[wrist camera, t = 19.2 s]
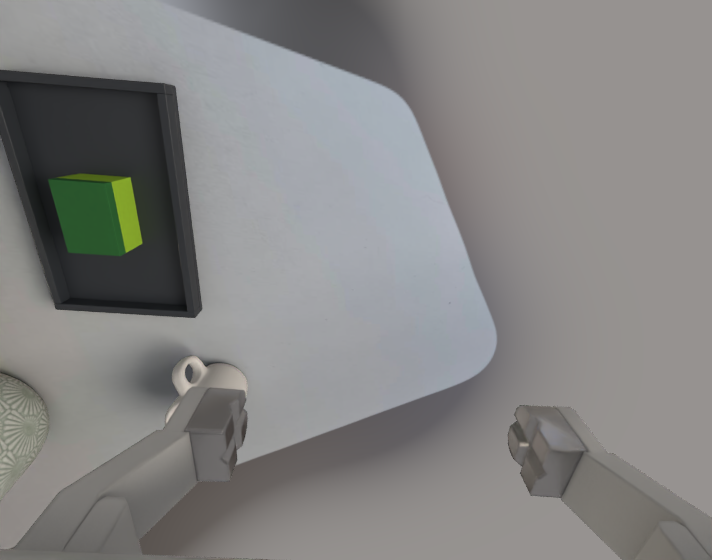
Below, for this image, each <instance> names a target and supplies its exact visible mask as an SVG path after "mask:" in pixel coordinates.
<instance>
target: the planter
mask: <svg viewBox="0 0 712 560" xmlns="http://www.w3.org/2000/svg"><path fill="white" fill-rule="evenodd" d="M48 431H49V415H48V410H47V407H46V405H45V403H44V402H43V400H42V399H41V398H40V396H39V395H38V394H37V393H36V392H35V391H34V390H33V389H32V388H30V387H29V386H28V385H26V384H25V383H23V382H21V381H19V380H17V379H15V378H13V377H11V376H8V375H5V374H2V373H0V500H1V499H2V498H3V497H4V496H5V494H6V493H7V492H8V491H9V490H10V488H11V487H12V486H13V485H14V484H15V483H16V481H17V480H18V479H19V478H20V477H21V475H22V474H23V473H24V472H25V471H26V469H27V468H28V467H29V466H30V465H31V463H32V462H33V461H34V460H35V458H36V457H37V455H38V454H39V452H40V450H41V448H42V447H43V445H44V443H45V440H46V438H47V435H48Z"/></svg>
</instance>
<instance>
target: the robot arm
mask: <svg viewBox="0 0 712 560" xmlns="http://www.w3.org/2000/svg"><path fill="white" fill-rule="evenodd" d="M245 402H246V393H245V391H244V390H237V389H225V388H212V387H210V388H207V387H195V386H192V387H191V388H190V389H188V390H187V392H186V394H185V395H184V397H183V398H182V400H181V401H180V403H179V405H178V406H177V408H176V409H175V411H174V413H173V414H172V416H171V417H170V419H169V421H168V422H167V424H166V425H165V427H164V428H163V430H156V431H155V432H153V433H152V434H150V435H148V436H147V437H145V438H144V439H142V440H141V441H139V442H137V443H136V444H134V445H133V446H131V447H130V448H128V449H126V450H125V451H123V452H122V453H120V454H119V455H117V456H115V457H114V458H112V459H111V460H109V461H107V462H106V463H104V464H103V465H101V466H100V467H98V468H96V469H95V470H93V471H92V472H90V473H89V474H87V475H85V476H84V477H82V478H81V479H79V480H77V481H76V482H74V483H73V484H71V485H70V486H68V487H66V488H65V489H63V490H62V491H60V492H59V493H58V494H57V495H56V497H55V498H54V499H53V500H52V502H51V503H50V504H49V505H48V506H47V508H46V509H45V510H44V511H43V513H42V514H41V515H40V516H39V518H38V519H37V520H36V521H35V523H34V524H33V525H32V526H31V528H30V529H29V530H28V531H27V533H26V534H25V535H24V536H23V538H22V539H21V540H20V541H19V542H18V544H17V545H16V546H15V547H14V549H13V550H12V549H0V560H265V559H241V558H240V559H239V558H216V557H189V556H164V555H143V554H142V550H141V547H140V543H139V540H140V539H141V538H142V537H143V536H144V535H145V534H146V533H147V532H148V531H149V530H150V529H151V528H152V527H153V526H154V525H155V524H156V523H157V522H158V521H159V520H160V519H161V518H162V517H163V516H164V515H165V514H166V513H167V512H168V511H169V510H170V509H171V508H173V506H175V505H176V504H177V503H178V502H179V501H180V500H181V499H182V498H183V497H184V496H185V494H187V493H188V492H189V491H190V490H191V489H192V488H193V487H194V486H195V485H196V484H197V481H218V482H219V481H220V482H229V481H230V479H231V476H232V473H233V470H234V467H235V464H236V462H237V452H236V450H238V449H239V448H240V447H241V446H242V444H243V441H244V438H245V434H246V429H247V411H246V410H245V409H244V405H245ZM514 415H515V417H516V419H517V421H516V422H515V423H513V424H512V425H511V426H510V429H509V432H508V446H509V449H510V453H511V455H512V457H513V459H514V460H515V461H516V462H517V463H518V464H520V465H521V466H522V469H521V472H520V474H521V476H522V478H523V480H524V482H525V484H526V487H527V488H528V491H529V493H530V495H531V496H543V497H556V498H561V500H562V501H563V502H564V503H565V504H566V505H567V506H568V507H569V508H570V509H571V510H572V511H573V512H574V513H575V514H576V515H577V516H578V517H579V518H580V519H581V520H582V521H583V522H584V523H585V524H586V525H587V526H588V527H589V528H590V529H591V530H592V531H593V532H594V533H595V534H596V535H597V536H598V537H599V538H600V539H601V540H602V541H604V543H606V545H607V546H608V547H610V548H611V549H612V550H613V551H614V552H615V553H616V554H617V555H618V556H619V557H620V558H621V559H622V560H712V518H711V517H710V516H708V515H707V514H705V513H704V512H702V511H701V510H699V509H698V508H696V507H694V506H693V505H691V504H690V503H688V502H687V501H685V500H684V499H682V498H680V497H679V496H677V495H676V494H674V493H673V492H672V491H670V490H669V489H667V488H665V487H663V486H662V485H661V484H659V483H658V482H656V481H654V480H653V479H652V478H650V477H649V476H647V475H646V474H644V473H643V472H641V471H639V470H638V469H636V468H635V467H633V466H632V465H630V464H629V463H627V462H626V461H624V460H623V459H621V458H619V457H618V456H617V455H615V454H613V453H608V452H607V451H606V450H605V449H604V447H603V446H602V445H601V443H600V442H599V441H598V440H597V438H596V437H595V436H594V434H593V433H592V432H591V430H590V429H589V428H588V427H587V425H586V424H585V423H584V421H583V420H582V419H581V418H580V416H579V415H578V414H577V412H576V411H575V410H574V409H572V408H570V407H554V406H553V407H550V406H529V405H520V406H519V407H517V409H516V411H515V414H514ZM266 560H267V559H266Z"/></svg>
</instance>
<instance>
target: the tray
mask: <svg viewBox="0 0 712 560" xmlns="http://www.w3.org/2000/svg"><path fill="white" fill-rule="evenodd" d="M0 135H1V138H2V141H3V144H4V147H5V151H6V154H7V157H8V160H9V163H10V166H11V170H12V173H13V176H14V179H15V182H16V185H17V189H18V192H19V195H20V198H21V201H22V204H23V208H24V211H25V214H26V217H27V220H28V223H29V226H30V230H31V233H32V236H33V239H34V242H35V245H36V249H37V252H38V255H39V258H40V261H41V264H42V268H43V271H44V274H45V277H46V280H47V283H48V286H49V290H50V293H51V296H52V299H53V302H54V305H55V308H56V309H57V310H73V311H90V312H106V313H122V314H139V315H155V316H172V317H188V318H195V317H196V316H197V315H198V314H199V312H200V311H201V310H202V303H201V295H200V287H199V279H198V270H197V262H196V254H195V245H194V237H193V229H192V221H191V212H190V204H189V196H188V188H187V179H186V171H185V163H184V154H183V146H182V138H181V130H180V121H179V113H178V105H177V97H176V88H175V86H173V85H168V84H163V83H151V82H139V81H127V80H115V79H103V78H91V77H79V76H67V75H55V74H43V73H31V72H19V71H7V70H0ZM79 173H81V174H94V175H107V176H120V177H130V178H131V183H132V188H133V194H134V199H135V205H136V210H137V216H138V221H139V227H140V232H141V238H142V244H141V245H139V246H137V247H136V248H134V249H132V250H130V251H129V252H127V253H125V254H123V255H121V256H110V255H95V254H80V253H68V250H67V246H66V243H65V239H64V236H63V232H62V228H61V225H60V221H59V218H58V214H57V210H56V207H55V203H54V199H53V196H52V192H51V189H50V185H49V181H48V179H52V178H57V177H63V176H68V175H74V174H79Z"/></svg>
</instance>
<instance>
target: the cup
mask: <svg viewBox="0 0 712 560" xmlns="http://www.w3.org/2000/svg"><path fill="white" fill-rule="evenodd" d="M188 364H189V365H190V366H191V367H192V369H193V377H192V379H191V381H190V382H188V381H187V379H186V377H185V369H186V367H187V365H188ZM172 381H173V384H174V386H175V388H176V390H177V392H178V393H179V396H178V398H177V399H176V400H175V401H174V402H173V404H172V405H171V406H170V407H169V409H168V411H167V413H166V416H165V425H166V424H167V422H168V421H169V419H170V417H171V416H172V414H173V413H174V411H175V409H176V408H177V406H178V405H179V403H180V401H181V400H182V398H183V397H184V395H185V394H186V392H187V390H188V389H190V388H191V387H192V386H195V387H207V388H210V387H212V388H225V389H237V390H244V391H245V393H246V395H247V381H246V378H245V376H244V375H243V373H242V372H241V371H240V370H239V369H237V368H236V367H234V366H232V365H229V364H225V363H215V364H211V365H208V366H206V367H205V366H204V364H203V363H202V361H201V360H200V359H199V358H198V357H196V356H188V357H185V358H183V359H182V360H180V361H179V362H178V363H177V364H176V366H175V367H174V369H173V372H172Z"/></svg>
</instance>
